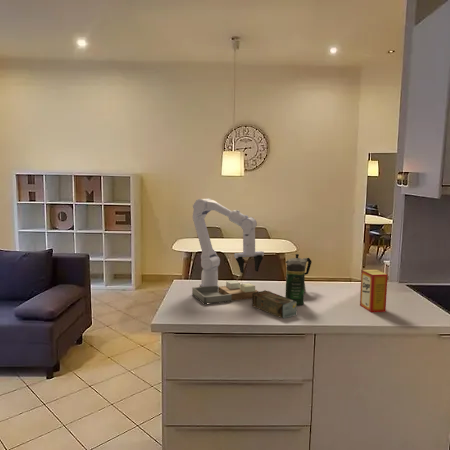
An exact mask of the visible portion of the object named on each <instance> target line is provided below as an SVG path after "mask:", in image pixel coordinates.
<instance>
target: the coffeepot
mask: <svg viewBox="0 0 450 450" xmlns="http://www.w3.org/2000/svg"><path fill="white" fill-rule="evenodd" d="M299 255H300V254H298V253H296V254H295V257H292V258H288V259H287V260H285V264H287V263H288V262H290V261H291V260H292V261H300V262H302V263H303V264H304V265H305V276H306V275H308V274H309V273H310V269H311V266H312V260H311V259H310V257H306V258H305V257H304V258H300V257H299ZM306 266H307V267H306ZM305 292H306V283H305V281H304V293H305Z"/></svg>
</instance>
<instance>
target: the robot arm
mask: <svg viewBox="0 0 450 450" xmlns="http://www.w3.org/2000/svg"><path fill="white" fill-rule="evenodd" d="M192 209H193V212H192V222H193V225H194V228H195V232H196V235H197V238H198V241H199V245H200V249H201V255H200V259H201V261H200V267H201V268H202V271H201V276H200V278H201V279H200V281H201V282H200V284H199V287H206V286H217V285H218V284H219V266H220V264H221V258H220V257H219V256H218V254H217V252H216V250H215V249H214V248H213V245H212V241H211V238H210V235H209V230H208V228H207V223H206V221H205V218H206V216H207V215H208V214H209V213H210V212H211V211H215V212H218V213H219V214H221V215H223V216H226V217H227V218H228V220H229V221H230V222H232V223H234V224H235V225H237V226H238V227H240V228H241V230H242V252H238V253H237V252H236V253H234V255H233V258H235V261H236V262H237V264H238V267H239V271H240V273H241V274H244V272H245V270H244V269H245V267H244V265H245V259H244V258H249V257H250V258H251V257H253V260H254V270H255V272H256V273H257V272H259V270H260V269H259V268H260V265H261V263H262V261H263V259H264V255H265V253H264V251H260V250H259V251H256V228H257V225H258V224H257V223H258V222H257V220H256V219H255V218H254V217H252V216H250V217H249V215H248V214H244V213H242V212H241V211H240V210H239V209H233V210H231V209H229V208H228V207H226V206H224V205H223V204H221V203H219V202H217V200H215V199H212V198H210V197H207V198H198V199H196V200H195V201H194V203H193V204H192ZM219 287H220V286H219V285H218V289H219Z"/></svg>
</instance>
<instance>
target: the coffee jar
mask: <svg viewBox="0 0 450 450" xmlns="http://www.w3.org/2000/svg"><path fill="white" fill-rule="evenodd" d="M285 264H286V266H285V267H286V270H285V271H286V274H285V275H286V276H285V295H284V297H286V298H288V299H291V300H294V301H296V302H297V304H296V307H297V306H298V307H299V306H302V305H304V302H305V301H304V299H305V296H304V295H305V292H304V282H305V277H306V275H305V273H306V268H305V265H304V264H303V263H302V262H300V261H292V260H291V261H290V262H288V263H285Z"/></svg>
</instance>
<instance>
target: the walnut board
mask: <svg viewBox="0 0 450 450" xmlns="http://www.w3.org/2000/svg"><path fill="white" fill-rule="evenodd" d="M218 292H220V293H221V294H223V295H227V294H231V295H232V296H231V302H232V301H240V300H249V299H250V300H251V299H252V294H253V293H256V292H260V291H259V290H257V289H255V291H253V292H244V291H242V290H241V284H240V288H236V289H230V288H228V287H226V285H224V286H223V285H221V286H220V287H219V288H218Z"/></svg>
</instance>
